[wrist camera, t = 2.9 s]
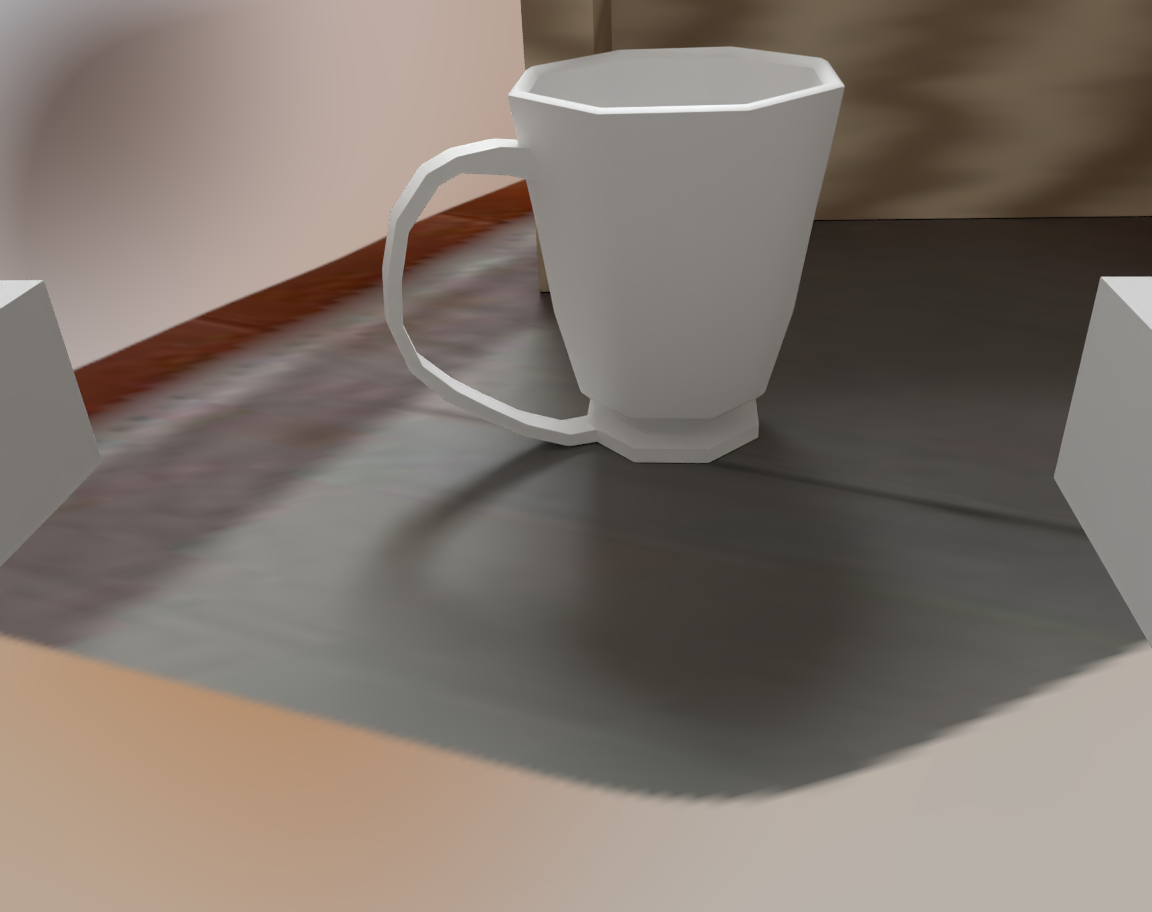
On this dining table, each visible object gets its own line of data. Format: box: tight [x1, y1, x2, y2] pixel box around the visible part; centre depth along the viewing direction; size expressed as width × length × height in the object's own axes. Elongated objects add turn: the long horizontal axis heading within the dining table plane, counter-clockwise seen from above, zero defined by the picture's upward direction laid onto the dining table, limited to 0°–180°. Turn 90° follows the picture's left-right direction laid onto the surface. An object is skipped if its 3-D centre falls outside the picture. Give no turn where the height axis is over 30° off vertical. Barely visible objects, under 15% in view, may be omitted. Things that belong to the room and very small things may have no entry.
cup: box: [382, 46, 845, 463], centre depth 22 cm, size 7×10×8 cm
